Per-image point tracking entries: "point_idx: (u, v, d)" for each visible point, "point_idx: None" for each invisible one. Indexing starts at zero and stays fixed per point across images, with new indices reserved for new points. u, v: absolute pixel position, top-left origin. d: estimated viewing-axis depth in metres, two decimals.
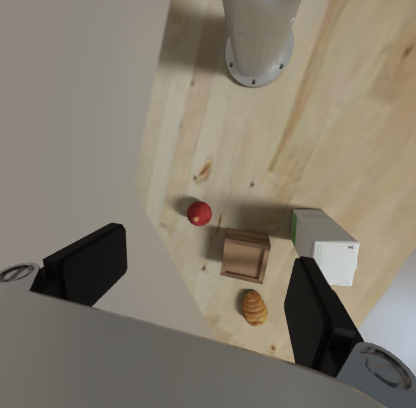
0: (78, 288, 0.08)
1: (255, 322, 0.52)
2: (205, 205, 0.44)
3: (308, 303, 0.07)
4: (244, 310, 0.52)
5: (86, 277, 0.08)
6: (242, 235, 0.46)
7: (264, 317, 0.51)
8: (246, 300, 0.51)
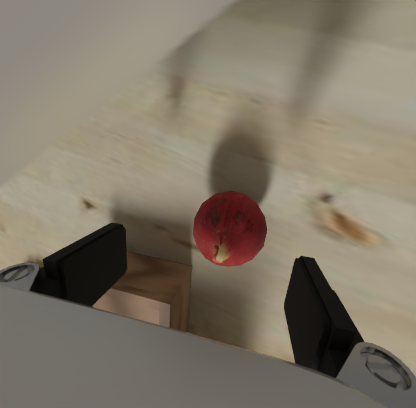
0: (78, 288, 0.08)
1: None
2: None
3: (308, 303, 0.07)
4: None
5: (86, 277, 0.08)
6: (181, 311, 0.20)
7: None
8: None
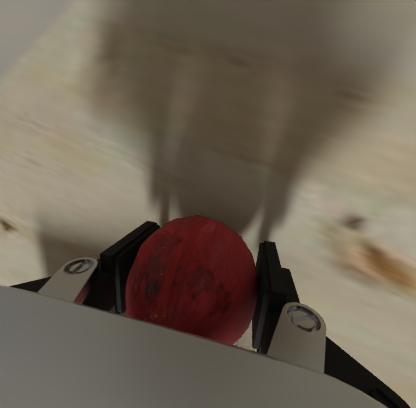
0: None
1: None
2: None
3: (261, 277, 0.08)
4: None
5: None
6: None
7: None
8: None
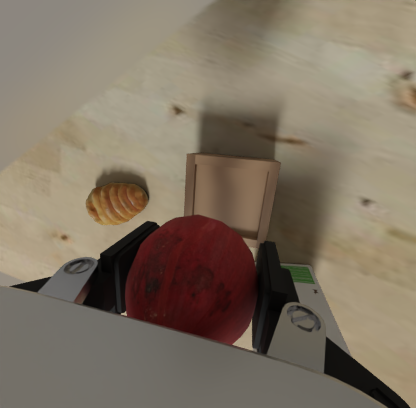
0: None
1: (94, 210, 0.29)
2: None
3: (261, 277, 0.08)
4: (108, 189, 0.29)
5: None
6: None
7: (108, 222, 0.30)
8: (128, 190, 0.28)
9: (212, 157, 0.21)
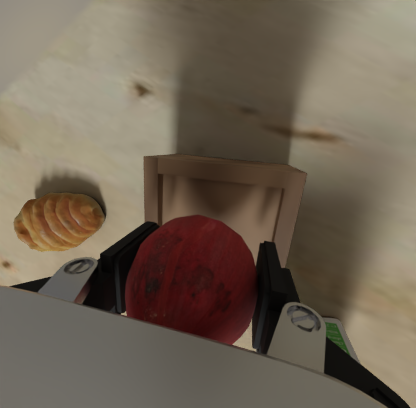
0: None
1: (26, 232, 0.21)
2: None
3: (261, 277, 0.08)
4: (42, 203, 0.20)
5: None
6: None
7: (49, 249, 0.22)
8: (70, 203, 0.19)
9: (186, 162, 0.12)
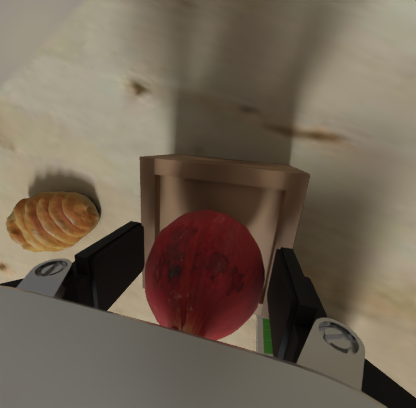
0: (105, 283, 0.08)
1: (19, 232, 0.20)
2: None
3: (282, 287, 0.07)
4: (35, 202, 0.19)
5: (111, 273, 0.09)
6: None
7: (43, 249, 0.21)
8: (64, 202, 0.19)
9: (183, 163, 0.12)
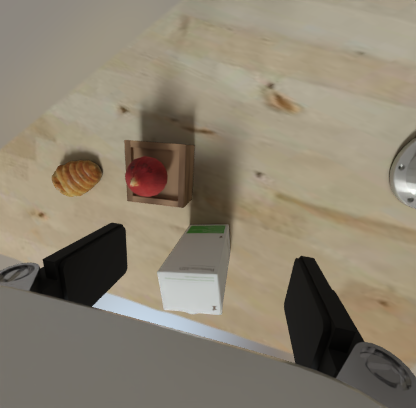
0: (78, 288, 0.08)
1: (59, 183, 0.37)
2: (161, 188, 0.28)
3: (308, 303, 0.07)
4: (67, 165, 0.37)
5: (86, 277, 0.08)
6: (189, 167, 0.33)
7: (71, 193, 0.38)
8: (83, 164, 0.37)
9: (141, 142, 0.30)
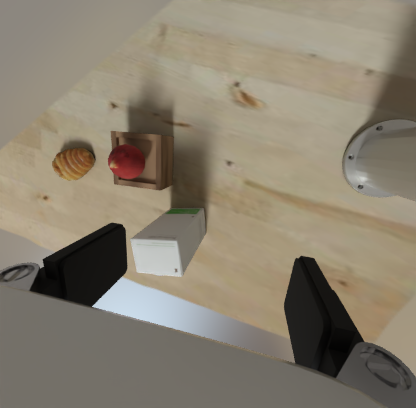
0: (78, 288, 0.08)
1: (58, 168, 0.43)
2: (139, 171, 0.33)
3: (308, 303, 0.07)
4: (65, 152, 0.43)
5: (86, 277, 0.08)
6: (167, 156, 0.38)
7: (69, 177, 0.44)
8: (78, 151, 0.42)
9: (125, 132, 0.35)
